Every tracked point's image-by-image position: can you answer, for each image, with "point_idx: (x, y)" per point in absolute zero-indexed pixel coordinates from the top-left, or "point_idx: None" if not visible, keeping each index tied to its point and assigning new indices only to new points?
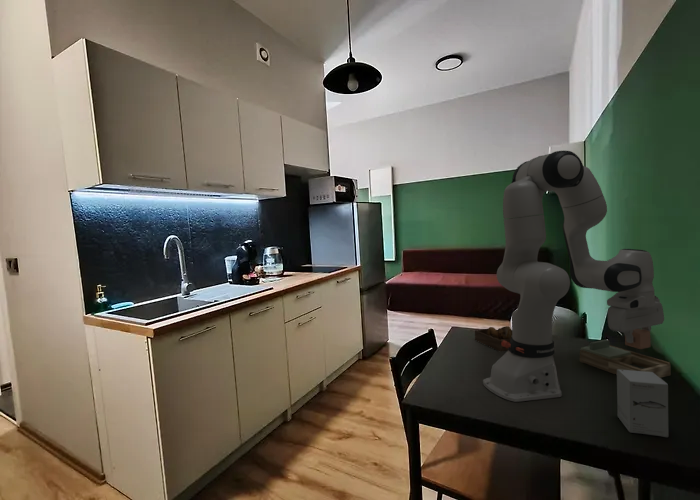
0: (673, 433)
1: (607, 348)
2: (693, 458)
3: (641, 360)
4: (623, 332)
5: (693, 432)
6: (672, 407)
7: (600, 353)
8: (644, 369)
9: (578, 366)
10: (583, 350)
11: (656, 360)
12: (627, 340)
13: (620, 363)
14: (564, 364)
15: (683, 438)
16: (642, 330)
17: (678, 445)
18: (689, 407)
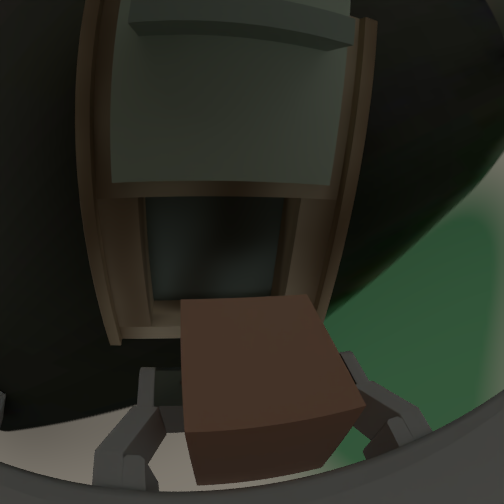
0: (16, 414)
1: (279, 59)
2: (7, 431)
3: (291, 242)
4: (101, 444)
5: (46, 425)
6: (78, 395)
7: (119, 107)
8: (156, 331)
9: (35, 74)
10: (97, 7)
11: (318, 292)
12: (141, 382)
13: (91, 269)
14: (7, 38)
15: (22, 422)
16: (311, 456)
17: (6, 421)
18: (115, 405)
